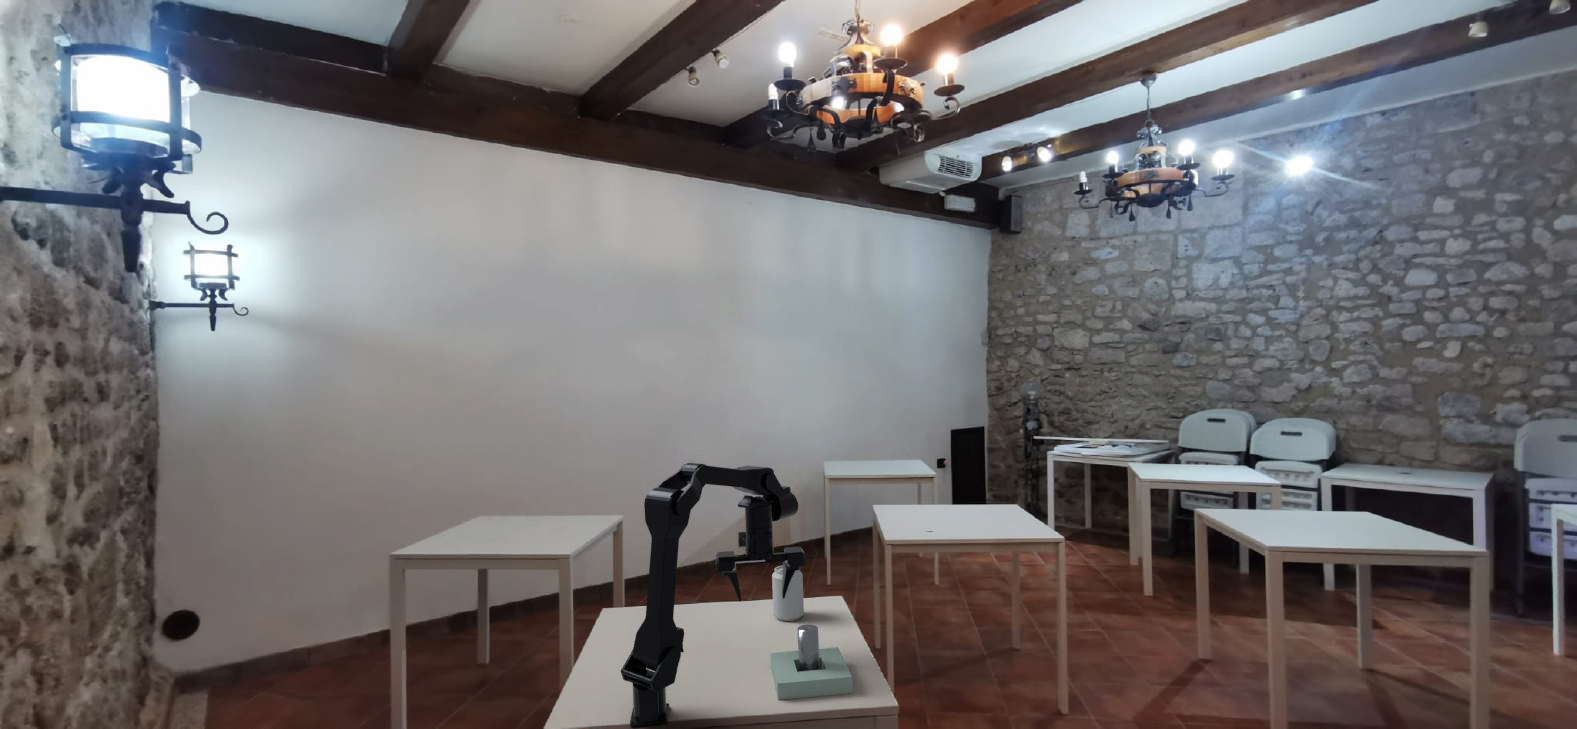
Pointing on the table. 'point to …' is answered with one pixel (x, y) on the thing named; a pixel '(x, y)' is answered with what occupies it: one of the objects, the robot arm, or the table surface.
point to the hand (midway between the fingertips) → (761, 599)
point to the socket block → (810, 675)
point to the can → (787, 596)
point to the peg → (808, 648)
